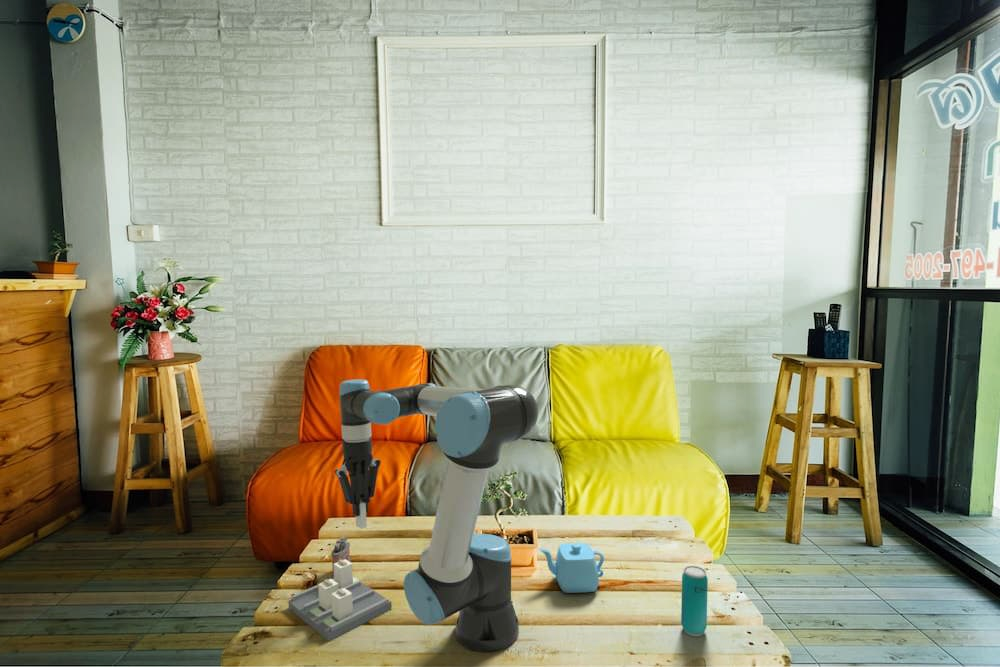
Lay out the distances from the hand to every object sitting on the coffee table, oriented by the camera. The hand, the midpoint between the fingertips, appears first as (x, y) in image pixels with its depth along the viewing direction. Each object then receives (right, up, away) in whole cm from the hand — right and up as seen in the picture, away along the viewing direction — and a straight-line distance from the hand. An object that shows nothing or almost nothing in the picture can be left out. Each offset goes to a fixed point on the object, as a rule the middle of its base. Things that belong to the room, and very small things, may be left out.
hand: (361, 526), depth 150 cm
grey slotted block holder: (-5, -20, -3) cm, 21 cm away
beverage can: (+83, -20, -14) cm, 87 cm away
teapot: (+57, -19, +7) cm, 60 cm away
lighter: (-9, -19, +15) cm, 26 cm away
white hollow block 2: (-2, -18, -10) cm, 21 cm away
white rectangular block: (-7, -18, -6) cm, 20 cm away
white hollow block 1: (-6, -17, +4) cm, 19 cm away
